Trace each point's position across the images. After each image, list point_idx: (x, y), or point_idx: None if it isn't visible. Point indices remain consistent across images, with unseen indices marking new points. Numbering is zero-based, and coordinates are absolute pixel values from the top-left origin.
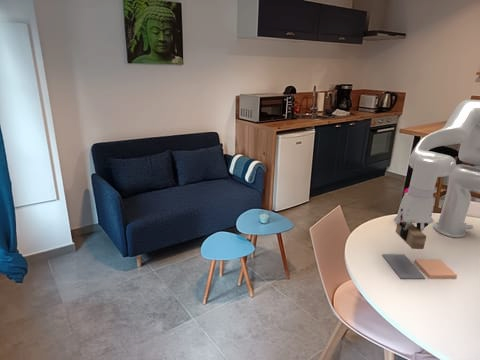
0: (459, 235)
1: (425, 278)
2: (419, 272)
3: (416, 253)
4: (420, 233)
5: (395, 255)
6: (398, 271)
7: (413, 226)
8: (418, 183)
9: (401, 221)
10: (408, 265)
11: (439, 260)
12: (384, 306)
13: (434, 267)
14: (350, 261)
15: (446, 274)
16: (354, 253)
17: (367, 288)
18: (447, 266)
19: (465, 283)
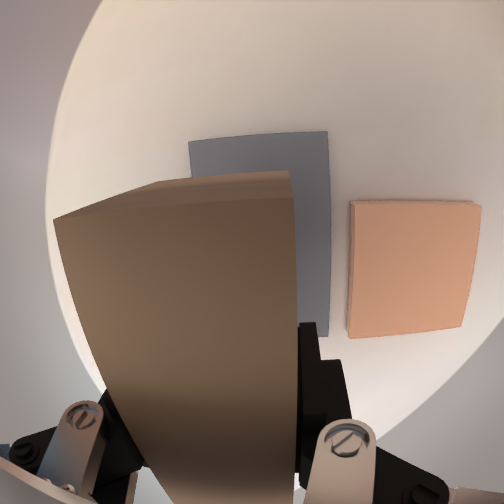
0: None
1: (327, 335)
2: (323, 301)
3: (407, 111)
4: None
5: (263, 147)
6: None
7: (258, 440)
8: None
9: (96, 277)
10: (297, 244)
11: (473, 216)
12: None
13: (413, 278)
14: (49, 220)
15: (425, 326)
16: (68, 150)
17: (95, 366)
18: (473, 266)
19: (462, 339)
